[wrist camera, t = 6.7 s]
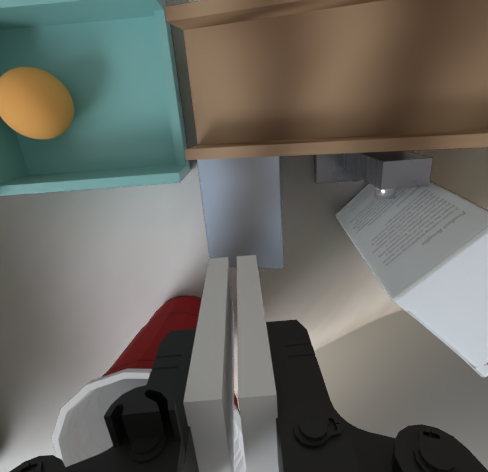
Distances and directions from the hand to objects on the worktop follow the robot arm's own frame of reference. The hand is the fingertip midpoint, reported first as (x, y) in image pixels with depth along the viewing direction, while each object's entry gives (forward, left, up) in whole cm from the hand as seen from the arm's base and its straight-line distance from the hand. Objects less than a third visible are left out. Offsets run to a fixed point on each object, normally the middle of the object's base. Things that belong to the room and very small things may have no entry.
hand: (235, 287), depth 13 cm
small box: (+12, -2, -12) cm, 17 cm away
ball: (-11, +8, -10) cm, 17 cm away
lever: (+9, +4, -7) cm, 12 cm away
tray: (-9, +8, -12) cm, 17 cm away
